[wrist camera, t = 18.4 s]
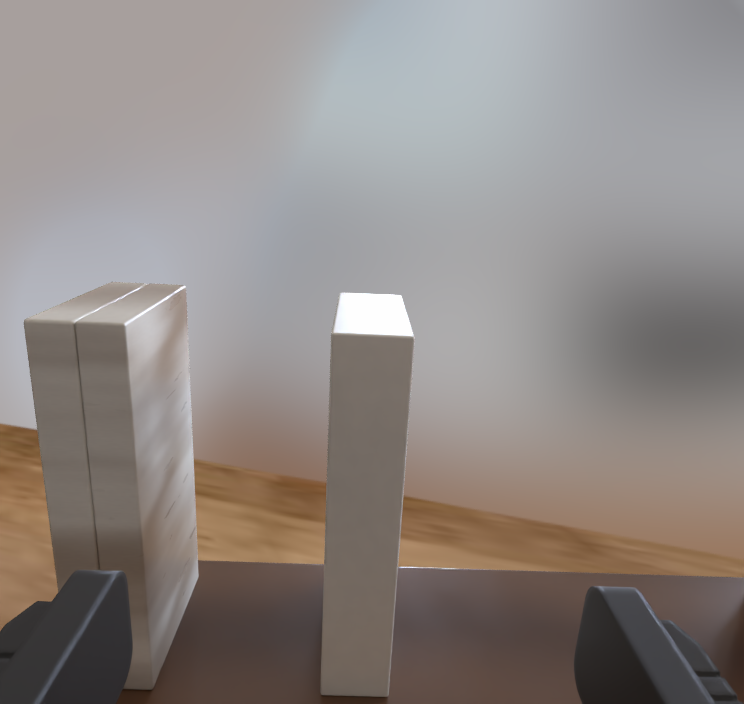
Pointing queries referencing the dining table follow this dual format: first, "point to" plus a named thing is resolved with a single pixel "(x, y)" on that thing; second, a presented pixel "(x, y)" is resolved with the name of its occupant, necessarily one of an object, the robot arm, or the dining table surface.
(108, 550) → the book rack
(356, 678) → the white book
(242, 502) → the dining table surface
